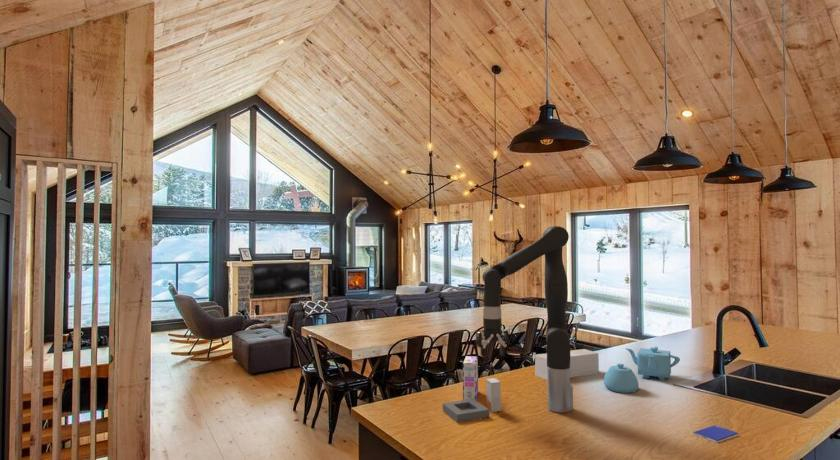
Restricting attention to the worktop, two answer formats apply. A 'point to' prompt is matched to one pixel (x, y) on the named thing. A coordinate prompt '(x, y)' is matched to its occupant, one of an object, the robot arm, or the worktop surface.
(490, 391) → the skincare box
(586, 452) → the worktop surface
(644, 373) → the teakettle
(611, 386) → the sugar bowl
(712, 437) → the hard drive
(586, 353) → the white rectangular block
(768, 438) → the worktop surface
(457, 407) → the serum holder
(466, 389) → the candy box
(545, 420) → the worktop surface
